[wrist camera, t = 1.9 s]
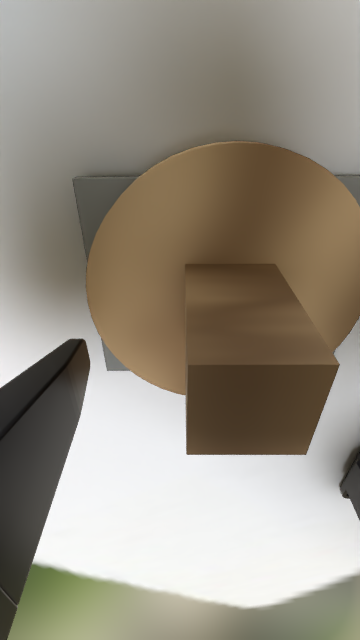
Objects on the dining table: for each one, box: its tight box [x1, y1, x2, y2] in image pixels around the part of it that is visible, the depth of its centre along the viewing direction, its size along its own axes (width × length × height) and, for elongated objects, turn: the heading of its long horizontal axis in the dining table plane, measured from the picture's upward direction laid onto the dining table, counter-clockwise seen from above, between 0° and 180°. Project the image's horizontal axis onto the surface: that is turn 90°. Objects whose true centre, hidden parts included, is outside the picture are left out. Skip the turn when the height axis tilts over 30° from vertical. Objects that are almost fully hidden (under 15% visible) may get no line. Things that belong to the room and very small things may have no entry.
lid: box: [86, 141, 360, 455], centre depth 9 cm, size 10×10×6 cm
